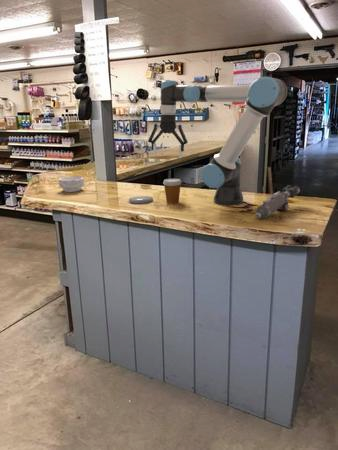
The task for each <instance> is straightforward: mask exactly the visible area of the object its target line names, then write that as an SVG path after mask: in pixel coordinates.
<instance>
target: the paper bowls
mask: <svg viewBox="0 0 338 450" xmlns="http://www.w3.org/2000/svg"><path fill="white" fill-rule="evenodd" d="M58 185H59V188H61V189H62V190H63V191H64V192H66V193H75V192H80V191H81V189H82V187H84V186H85V179H84V177H83V176H65V177H60V178H58Z"/></svg>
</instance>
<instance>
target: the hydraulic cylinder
mask: <svg viewBox="0 0 338 450" xmlns="http://www.w3.org/2000/svg"><path fill="white" fill-rule="evenodd" d="M300 192H301V189H300V187H299V186H298V185H294V186H292V185H291V184H290V185H289V184H288V185H286V186H285V187H283V188H282V189H281V191H280V190H278V191H277V192H275V193H273V194H271V195H270V196H268V197H267V198H266V199H264V200H263V201H262V204H260V205H259V206H258V207H257V208H256V210H255V211H256V213H255V216H254V217H255V219H264V220H265V219H267V218H268V217H269V216H271V215H272V214H273V213H275V212H276V211H277V210H280V209H281V210H282V211H283V212H284V211H287V210H289V209H290V205H289V198H291V199H294V198H295V197H296V196H297V195H298V194H299V193H300Z"/></svg>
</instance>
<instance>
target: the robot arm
mask: <svg viewBox="0 0 338 450" xmlns="http://www.w3.org/2000/svg"><path fill="white" fill-rule="evenodd" d="M177 83H178V82H177V81H176V80H162V81H161V84H160V113H161V114H160V123H154V125H153V130H152V132H151V134H150V136H149V137H148V139H147V142H148V143H150V144H151V151H153V152H152V154H153V158H154V157H156V156H157V143H156V142H157V140H158V139H159V138H160V137H161V136H162V134H168V135H169V134H172V135H173V136H174V137H175V138H176V139H177V141H178V143H179V149H178V151H179V153H178V156H179V158H178V159H182V158H183V157H182V156H183V154H182V153H183V152H184V151H185V145H187V144H188V142H189V141H188V138H187V137H186V134H185V132H184V130H183V125H182V124H177V123H176V122H177V120H176V117H177V115H176V113H177V102H178V103H179V102H181V103H183V102H184V103H210V102H211V103H215V102H216V103H217V102H218V103H219V102H220V103H221V102H222V103H229V102H230V103H231V102H232V103H234V102H235V103H239V102H240V103H243V102H244V105H245V107H244V110H243V112H242V113H241V115H240V117H239V118H238V120H237V122H236V124H235V125H234V127H233V128H232V131H231V132H230V134H229V135H228V137H227V139H226V141H225V142H224V145H223V146H222V148H221V149H220V152H218V153H217V154H214V156H212V158H211V160H210V162H209V163H208V164H206V165H205V166H204V167H202V170H201V180H202V181H203V183H204V185H206V186H207V187H209V188H211V189H216V190H215V193H214V196H213V203H215V204H218V205H224V206H232V205H240V204H243V203H244V195H243V192H242V188H241V178H242V177H241V175H242V174H241V173H242V159H241V158H240V155H241V154H242V152H243V150H244V149H245V147H246V146H247V144H248V143H249V141H250V140H251V138H252V136H253V135H254V132H256V129H257V128H258V126H259V125H260V123H261V121H262V120H263V118H266V117H268V116H269V115H270V114H271V113H272V110H273V109H274V108H275V107H277V106H280V105H281V104H282V103H283V102H284V101H285V100H286V98H287V96H288V87H287V85H286V83H285V82H284V81H283V80H282V79H279V78H275V77H271V76H263V77H262V76H261V77H259V78H257V79H255V80H254V81H253V82H252V83H251V84H231V85H230V84H221V85H218V84H217V85H194V84H185V85H182V84H181V85H180V84H179V85H178V84H177ZM159 128H160V129H161V130H160V131H159V132H158V134H156V132H157V131H158V129H159ZM176 129H177V130H178V132H179V134H180V135H181V137H180V135H179V134H178V132H177V131H176ZM155 134H156V136H155Z"/></svg>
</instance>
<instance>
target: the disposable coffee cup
mask: <svg viewBox="0 0 338 450" xmlns="http://www.w3.org/2000/svg"><path fill="white" fill-rule="evenodd" d="M162 184H163V186H164V191H165V192H164V193H165V198H166V199H165V200H166V203H167V205H176V204H179V203H180V202H179V201H180V192H181V184H182V180H181V178H166V179H164V180H163V182H162Z"/></svg>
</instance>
